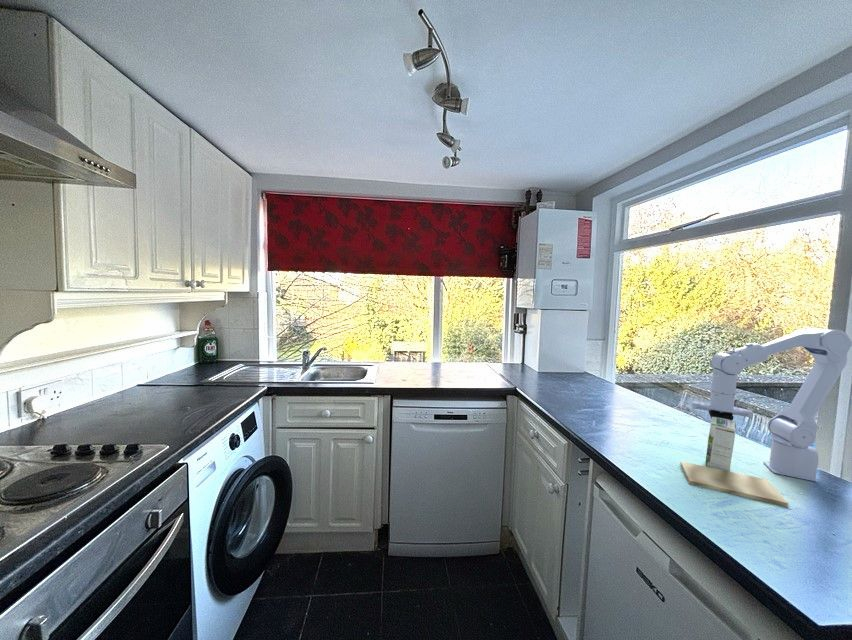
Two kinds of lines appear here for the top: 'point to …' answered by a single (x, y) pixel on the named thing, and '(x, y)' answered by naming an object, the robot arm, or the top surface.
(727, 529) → the top surface
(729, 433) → the syrup box
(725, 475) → the bamboo board
